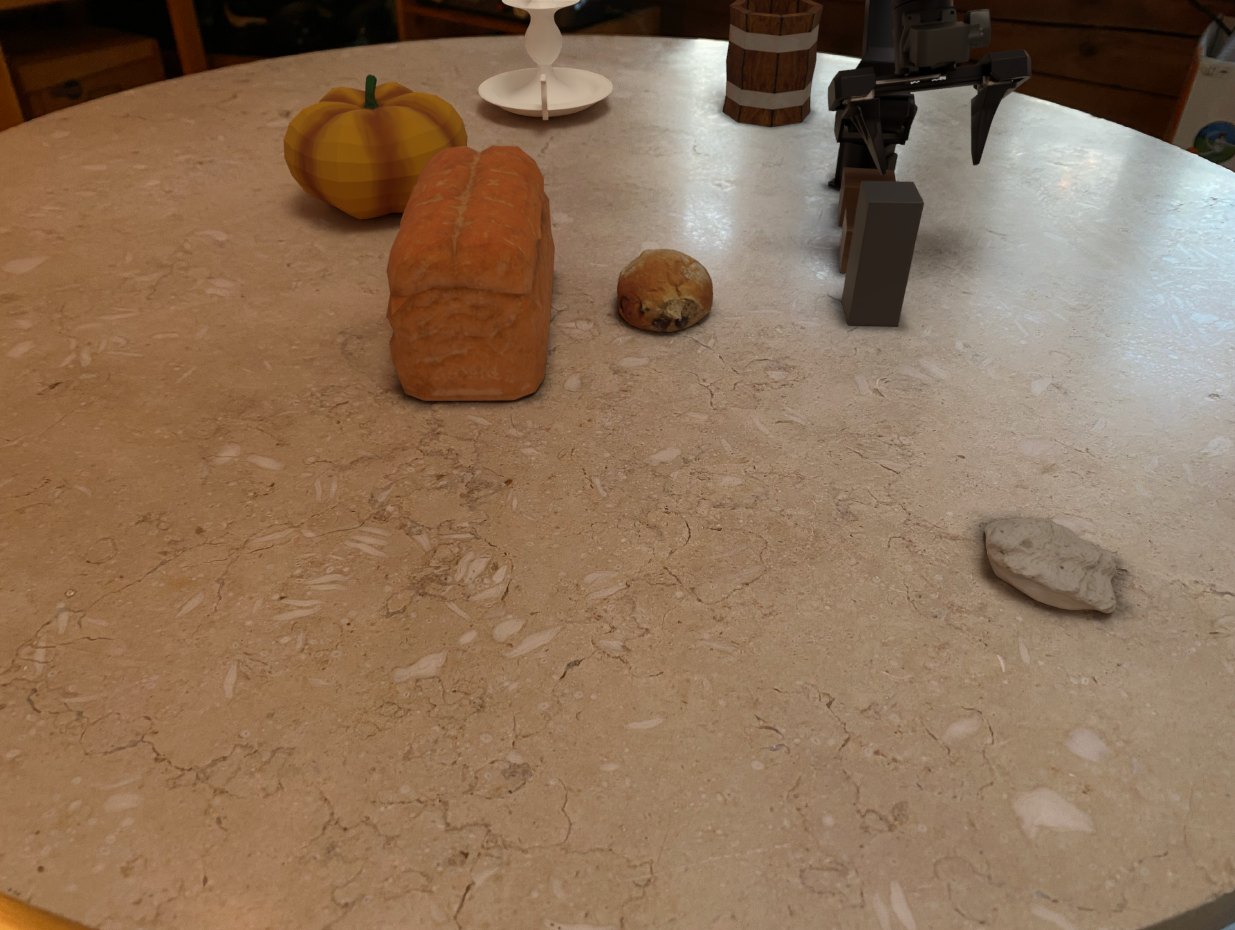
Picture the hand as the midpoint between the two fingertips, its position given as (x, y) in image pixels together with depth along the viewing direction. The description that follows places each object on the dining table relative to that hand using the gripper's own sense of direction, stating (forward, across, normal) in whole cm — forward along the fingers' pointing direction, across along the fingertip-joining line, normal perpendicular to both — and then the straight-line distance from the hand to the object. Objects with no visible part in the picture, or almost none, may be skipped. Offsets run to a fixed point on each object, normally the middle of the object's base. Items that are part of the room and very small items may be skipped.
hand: (929, 169), depth 95 cm
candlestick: (-21, -45, +48) cm, 69 cm away
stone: (+33, -1, -33) cm, 47 cm away
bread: (+12, -46, -7) cm, 48 cm away
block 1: (+8, -5, +8) cm, 13 cm away
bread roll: (+12, -28, -3) cm, 30 cm away
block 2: (+2, -4, +18) cm, 19 cm away
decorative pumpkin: (-6, -62, +18) cm, 65 cm away
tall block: (+14, -7, -2) cm, 16 cm away
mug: (-19, -12, +54) cm, 58 cm away
